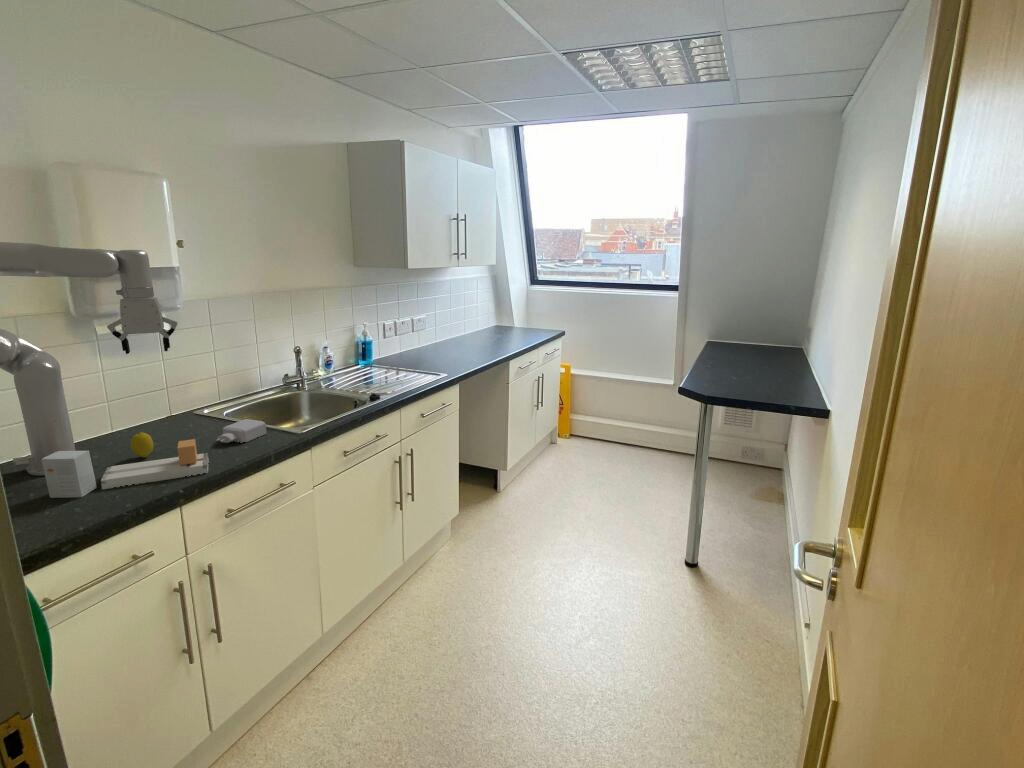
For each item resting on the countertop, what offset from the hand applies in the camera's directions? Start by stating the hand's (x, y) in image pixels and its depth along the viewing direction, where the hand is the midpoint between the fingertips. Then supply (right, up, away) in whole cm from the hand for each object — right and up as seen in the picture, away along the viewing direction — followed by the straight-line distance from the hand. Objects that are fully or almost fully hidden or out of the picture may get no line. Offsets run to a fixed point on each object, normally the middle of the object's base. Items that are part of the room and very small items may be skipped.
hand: (147, 351), depth 164 cm
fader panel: (+11, -34, -12) cm, 38 cm away
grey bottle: (+19, -28, +15) cm, 37 cm away
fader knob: (+18, -32, -9) cm, 38 cm away
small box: (-3, -37, -24) cm, 44 cm away
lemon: (-1, -32, 0) cm, 32 cm away
